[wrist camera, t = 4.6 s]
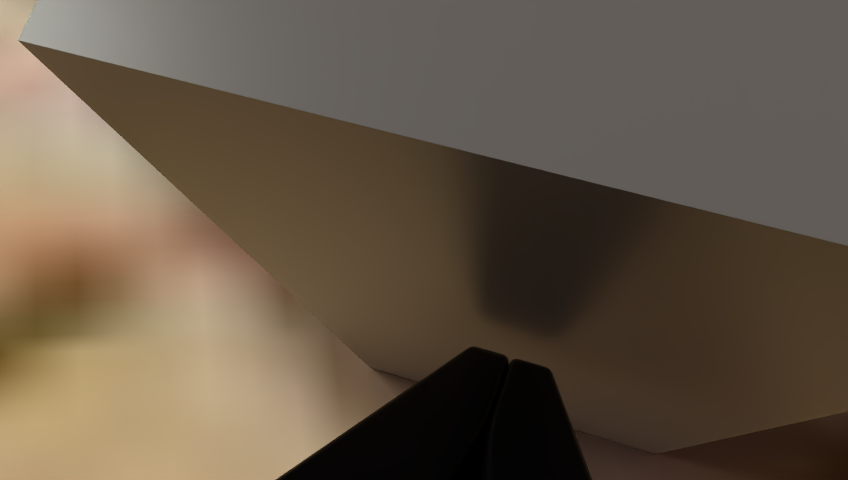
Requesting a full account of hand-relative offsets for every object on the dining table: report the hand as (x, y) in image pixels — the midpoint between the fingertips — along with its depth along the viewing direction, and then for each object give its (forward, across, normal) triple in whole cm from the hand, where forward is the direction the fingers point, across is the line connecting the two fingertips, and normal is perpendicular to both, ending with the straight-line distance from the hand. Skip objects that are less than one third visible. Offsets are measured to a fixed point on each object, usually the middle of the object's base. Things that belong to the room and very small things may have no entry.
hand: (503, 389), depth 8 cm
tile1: (+6, 0, +4) cm, 7 cm away
